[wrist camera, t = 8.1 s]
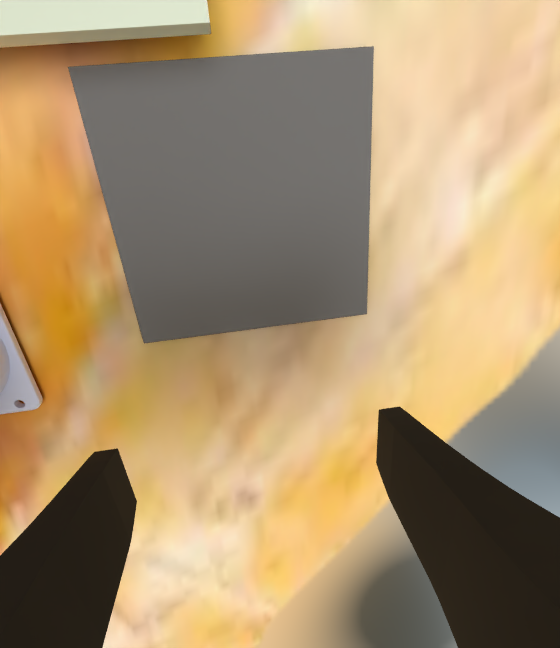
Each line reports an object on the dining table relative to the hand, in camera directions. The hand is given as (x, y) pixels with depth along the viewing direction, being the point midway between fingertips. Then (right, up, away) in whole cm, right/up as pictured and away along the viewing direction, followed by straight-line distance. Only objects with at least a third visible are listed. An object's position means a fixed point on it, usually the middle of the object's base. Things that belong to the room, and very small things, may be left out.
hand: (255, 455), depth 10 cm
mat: (-1, +9, +7) cm, 12 cm away
